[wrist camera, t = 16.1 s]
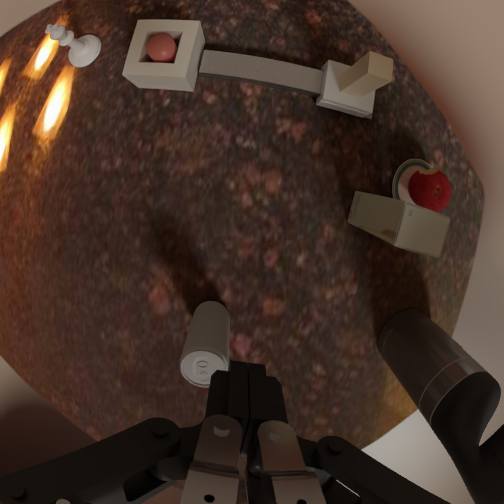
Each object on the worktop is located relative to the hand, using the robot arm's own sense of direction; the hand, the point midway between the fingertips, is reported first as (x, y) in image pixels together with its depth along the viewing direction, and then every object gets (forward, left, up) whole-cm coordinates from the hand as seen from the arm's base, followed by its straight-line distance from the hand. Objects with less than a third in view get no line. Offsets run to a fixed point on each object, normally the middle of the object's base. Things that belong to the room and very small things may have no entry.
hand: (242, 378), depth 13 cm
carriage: (-9, -21, -26) cm, 34 cm away
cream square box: (+12, -21, -26) cm, 35 cm away
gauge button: (+12, -21, -24) cm, 34 cm away
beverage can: (+2, +10, -26) cm, 28 cm away
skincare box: (-16, -7, -26) cm, 31 cm away
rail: (-2, -21, -26) cm, 33 cm away
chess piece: (+25, -23, -26) cm, 43 cm away
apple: (-22, -11, -26) cm, 36 cm away
